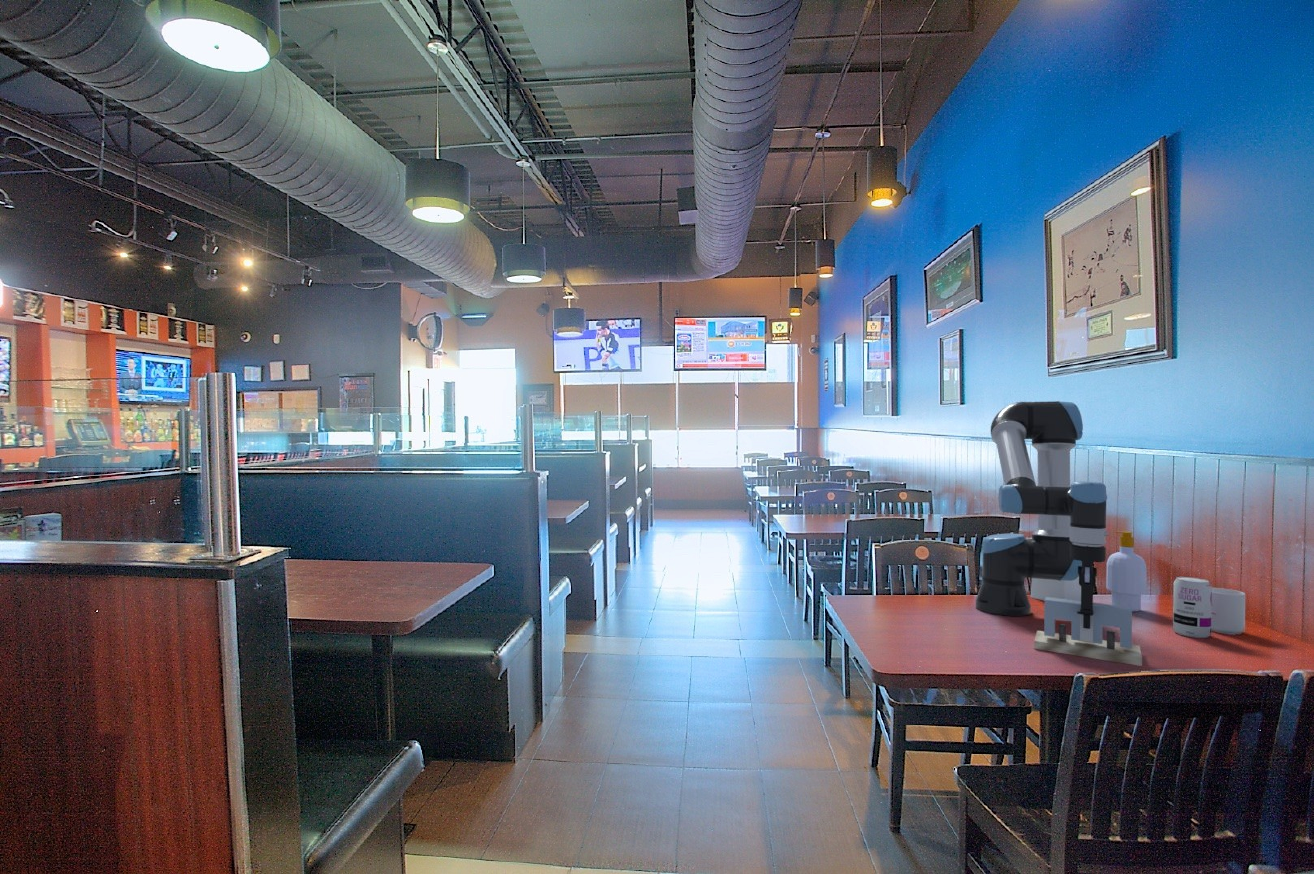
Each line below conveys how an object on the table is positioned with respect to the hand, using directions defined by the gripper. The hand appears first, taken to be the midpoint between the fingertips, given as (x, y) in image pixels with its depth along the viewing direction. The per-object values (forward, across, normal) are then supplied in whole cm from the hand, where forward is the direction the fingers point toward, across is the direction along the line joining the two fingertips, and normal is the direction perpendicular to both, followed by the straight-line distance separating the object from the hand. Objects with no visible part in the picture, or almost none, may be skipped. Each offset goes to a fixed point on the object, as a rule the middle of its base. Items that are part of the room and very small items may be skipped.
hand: (1086, 638), depth 165 cm
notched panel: (0, 0, 0) cm, 0 cm away
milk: (+3, +61, +8) cm, 61 cm away
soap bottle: (+3, +60, -10) cm, 61 cm away
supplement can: (+4, +37, -24) cm, 44 cm away
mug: (+4, +48, -31) cm, 57 cm away
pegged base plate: (+4, +2, 0) cm, 4 cm away
